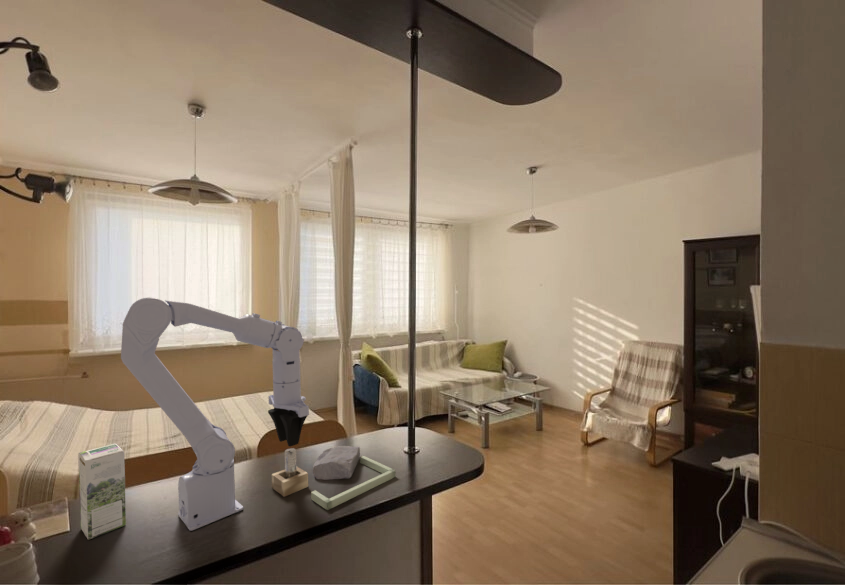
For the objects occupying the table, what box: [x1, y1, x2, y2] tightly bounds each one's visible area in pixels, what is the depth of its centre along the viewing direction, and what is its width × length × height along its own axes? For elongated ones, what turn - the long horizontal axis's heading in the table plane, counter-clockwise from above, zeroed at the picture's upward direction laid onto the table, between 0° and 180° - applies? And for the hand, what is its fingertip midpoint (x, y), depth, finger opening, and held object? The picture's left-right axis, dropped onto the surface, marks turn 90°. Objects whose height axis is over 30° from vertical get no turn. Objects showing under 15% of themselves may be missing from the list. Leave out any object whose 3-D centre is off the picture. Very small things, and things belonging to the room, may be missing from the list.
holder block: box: [271, 466, 309, 498], centre depth 86 cm, size 6×6×3 cm
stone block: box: [312, 445, 361, 481], centre depth 95 cm, size 12×5×10 cm
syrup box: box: [77, 443, 127, 541], centre depth 73 cm, size 6×6×14 cm
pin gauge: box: [284, 447, 298, 479], centre depth 87 cm, size 2×2×8 cm
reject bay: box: [310, 455, 397, 511], centre depth 88 cm, size 18×12×2 cm, turn 136°
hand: (288, 442), depth 86 cm, fingers open, 3 cm apart
